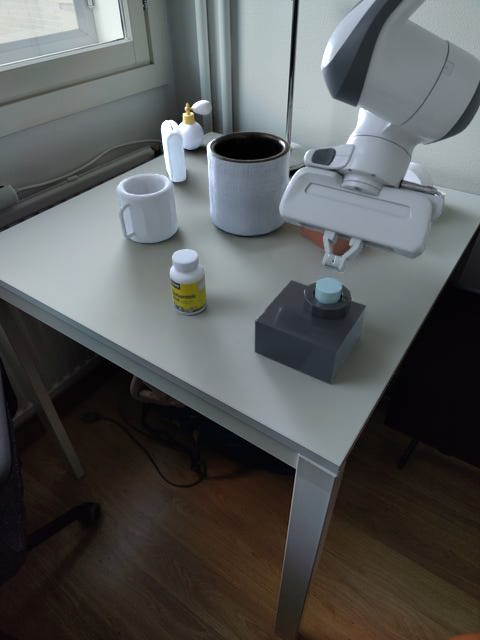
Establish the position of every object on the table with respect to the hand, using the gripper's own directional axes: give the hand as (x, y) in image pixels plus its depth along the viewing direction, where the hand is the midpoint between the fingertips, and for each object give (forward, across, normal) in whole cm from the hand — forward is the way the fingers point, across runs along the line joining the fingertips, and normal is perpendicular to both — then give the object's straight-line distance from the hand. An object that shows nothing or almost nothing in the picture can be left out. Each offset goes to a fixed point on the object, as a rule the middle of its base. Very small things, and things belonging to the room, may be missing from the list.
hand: (332, 269), depth 62 cm
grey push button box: (+11, +1, -6) cm, 13 cm away
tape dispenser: (-21, +1, -38) cm, 44 cm away
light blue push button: (+4, 0, -3) cm, 5 cm away
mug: (+2, +43, -15) cm, 45 cm away
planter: (-8, +28, -26) cm, 39 cm away
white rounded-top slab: (-16, +55, -33) cm, 66 cm away
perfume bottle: (-27, +62, -45) cm, 81 cm away
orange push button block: (-10, +9, -28) cm, 31 cm away
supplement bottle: (+12, +22, -5) cm, 25 cm away
